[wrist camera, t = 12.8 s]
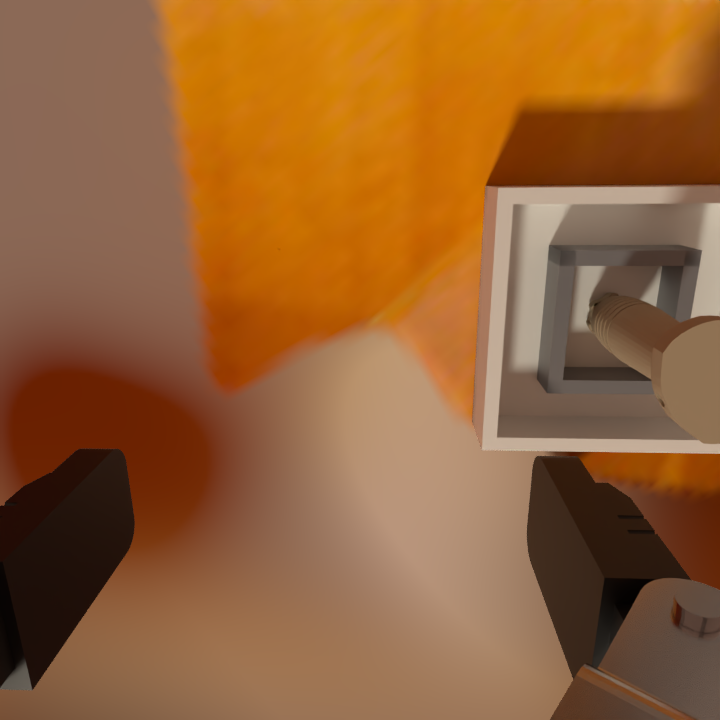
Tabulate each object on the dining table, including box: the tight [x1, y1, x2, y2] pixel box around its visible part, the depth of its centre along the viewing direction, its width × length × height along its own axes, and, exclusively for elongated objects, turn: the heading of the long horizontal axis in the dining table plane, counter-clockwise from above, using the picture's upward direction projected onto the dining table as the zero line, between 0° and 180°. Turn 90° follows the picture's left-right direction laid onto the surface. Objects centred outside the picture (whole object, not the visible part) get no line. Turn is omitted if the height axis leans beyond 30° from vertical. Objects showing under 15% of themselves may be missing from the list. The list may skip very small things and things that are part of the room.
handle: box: [586, 293, 720, 444], centre depth 35 cm, size 5×6×15 cm
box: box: [472, 184, 720, 454], centre depth 41 cm, size 18×18×5 cm
